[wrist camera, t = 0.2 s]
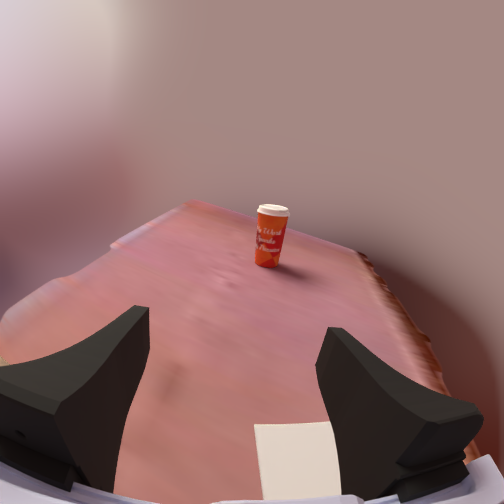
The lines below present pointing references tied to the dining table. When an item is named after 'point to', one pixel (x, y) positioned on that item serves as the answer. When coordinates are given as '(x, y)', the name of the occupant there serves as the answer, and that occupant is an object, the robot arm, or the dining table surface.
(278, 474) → the mat
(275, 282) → the dining table surface
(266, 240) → the coffee cup
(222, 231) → the dining table surface
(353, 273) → the dining table surface
